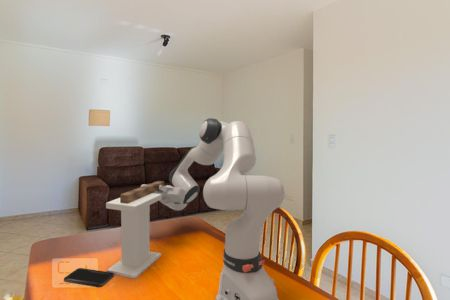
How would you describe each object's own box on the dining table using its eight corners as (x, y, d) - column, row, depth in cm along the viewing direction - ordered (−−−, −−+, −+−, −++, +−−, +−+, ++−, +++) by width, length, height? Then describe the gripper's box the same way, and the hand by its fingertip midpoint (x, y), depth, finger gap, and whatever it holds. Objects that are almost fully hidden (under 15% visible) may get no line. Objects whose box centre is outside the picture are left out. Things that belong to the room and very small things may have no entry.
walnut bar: (158, 187, 121) (158, 180, 121) (164, 188, 121) (164, 181, 120) (120, 202, 97) (120, 194, 96) (127, 203, 96) (127, 195, 95)
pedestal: (136, 251, 115) (136, 191, 113) (161, 255, 112) (161, 194, 110) (106, 272, 98) (105, 202, 96) (135, 278, 95) (135, 206, 93)
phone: (101, 285, 89) (62, 279, 92) (101, 288, 89) (62, 282, 92) (115, 272, 97) (79, 267, 100) (115, 275, 97) (79, 270, 100)
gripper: (150, 186, 132) (135, 177, 119) (188, 190, 126) (177, 181, 114) (146, 199, 129) (131, 190, 117) (185, 204, 123) (173, 195, 111)
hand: (154, 186), depth 115 cm, fingers closed on walnut bar, 3 cm apart
